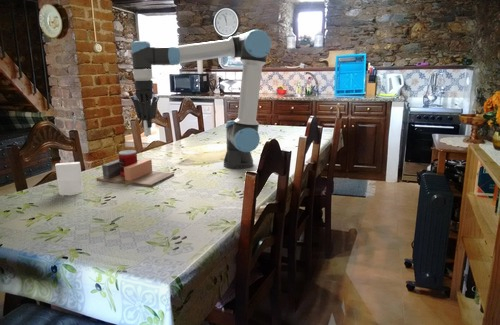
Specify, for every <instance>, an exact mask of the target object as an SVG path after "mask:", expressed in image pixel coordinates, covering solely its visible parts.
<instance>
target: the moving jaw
mask: <svg viewBox="0 0 500 325" xmlns="http://www.w3.org/2000/svg"><path fill="white" fill-rule="evenodd" d="M152 162H153V161H152V159H150V158H145V159H142V160H140V161H137V163H134V164H132V165H129V166H127V167H124V174H125V180H127V181H132V180H134V179H136V178H139V177H141V176H143V175H145V174H148V173H150V172H152V171H153V163H152Z"/></svg>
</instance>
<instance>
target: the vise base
mask: <svg viewBox="0 0 500 325" xmlns="http://www.w3.org/2000/svg"><path fill="white" fill-rule="evenodd" d="M101 169H102V176H98V177H96V181H100V182H107V183H114V184H115V183H117V184H124V185H125V184H126V185H133V186H141V187H150V188H152V187H154V186H156V185H159V184H161V183H162V182H164V181H166V180H168V179H170V178H172V177H174V176H175V173H173V172H163V171H156V170H154V171H153V170H152V172H150V173H148V174H145V175H143V176H141V177H139V178H136V179H134V180H132V181H127V180H125V177H122V176H121V173H120V163H119V159H115V160H113V161H111V162H108V163H103V164H102V165H101Z"/></svg>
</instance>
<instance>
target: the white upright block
mask: <svg viewBox="0 0 500 325" xmlns="http://www.w3.org/2000/svg"><path fill="white" fill-rule="evenodd" d="M54 167H55V173H56V174H55V175H56V180H57V185H58V186H57V187H58V193H59V195H60V196H64V195H68V196H73V195H74V196H75V195H79V194H81V193H83V192H84V184H83V175H82V166H81V162H80V161H72V162H59V163H58V162H57V163H55V165H54Z"/></svg>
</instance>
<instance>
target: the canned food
mask: <svg viewBox="0 0 500 325" xmlns="http://www.w3.org/2000/svg"><path fill="white" fill-rule="evenodd" d="M118 160H119V163H120V173H121V176H122V177H125V174H124V167H127V166H129V165H132V164H134V163H137V162H138V155H137V150H135V149H125V150H120V151H119V152H118Z"/></svg>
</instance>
